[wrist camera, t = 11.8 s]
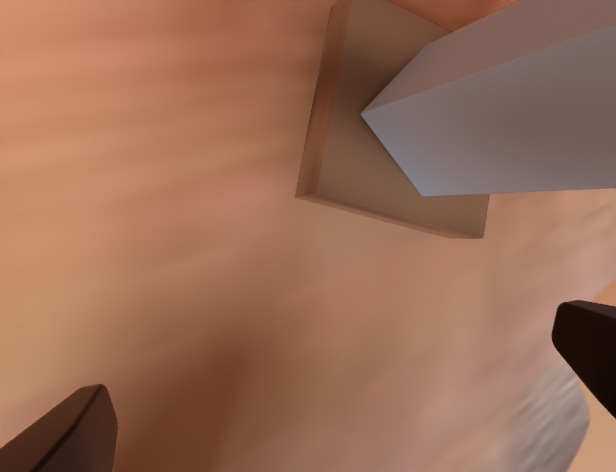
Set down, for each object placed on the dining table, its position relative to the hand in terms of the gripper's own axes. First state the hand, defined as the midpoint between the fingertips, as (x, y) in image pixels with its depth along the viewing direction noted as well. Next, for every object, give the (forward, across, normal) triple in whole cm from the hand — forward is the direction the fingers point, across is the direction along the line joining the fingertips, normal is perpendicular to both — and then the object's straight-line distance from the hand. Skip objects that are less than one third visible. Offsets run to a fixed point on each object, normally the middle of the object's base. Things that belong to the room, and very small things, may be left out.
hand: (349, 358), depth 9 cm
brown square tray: (+18, +7, 0) cm, 19 cm away
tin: (+15, +8, +1) cm, 17 cm away
